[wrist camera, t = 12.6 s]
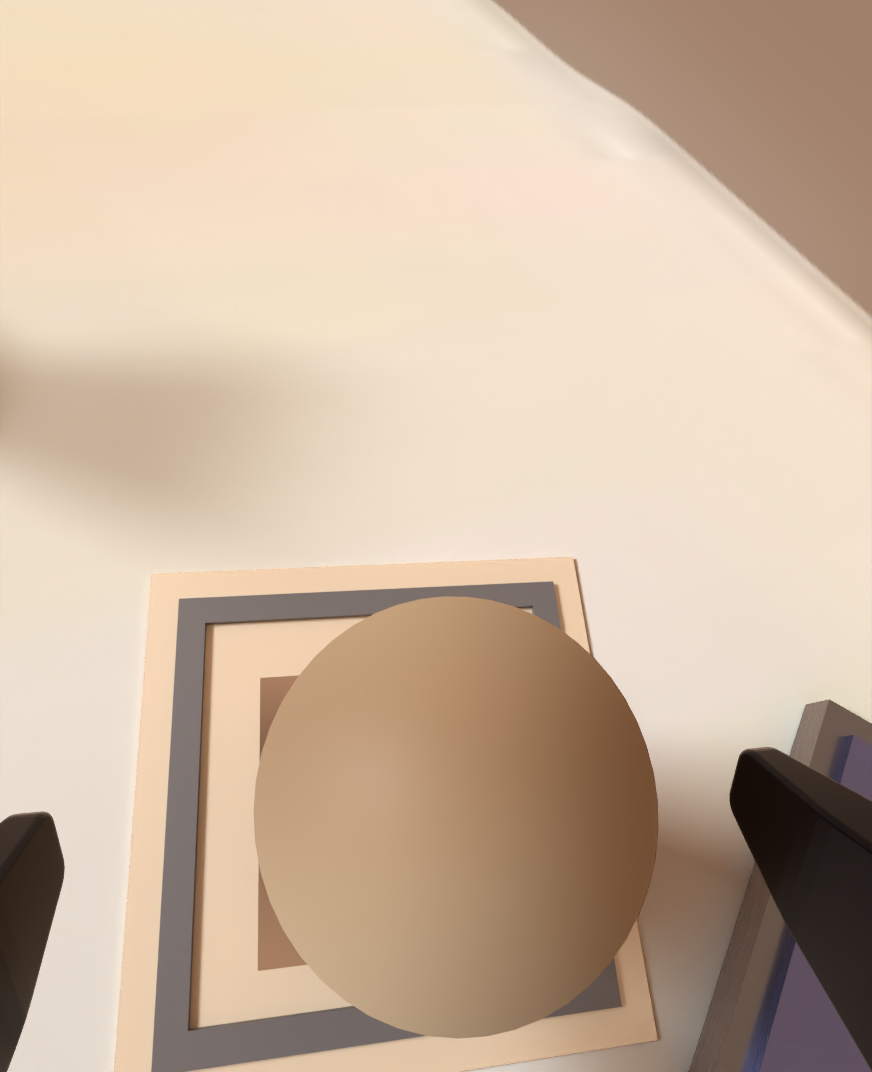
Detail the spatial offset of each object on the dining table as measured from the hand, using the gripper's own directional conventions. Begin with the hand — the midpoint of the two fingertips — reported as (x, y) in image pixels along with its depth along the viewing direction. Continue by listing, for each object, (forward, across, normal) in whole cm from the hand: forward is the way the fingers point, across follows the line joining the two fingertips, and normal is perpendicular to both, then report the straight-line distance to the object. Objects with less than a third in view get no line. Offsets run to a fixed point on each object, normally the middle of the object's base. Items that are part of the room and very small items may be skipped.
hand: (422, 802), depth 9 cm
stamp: (+6, 0, +6) cm, 9 cm away
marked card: (+6, 0, +6) cm, 9 cm away
